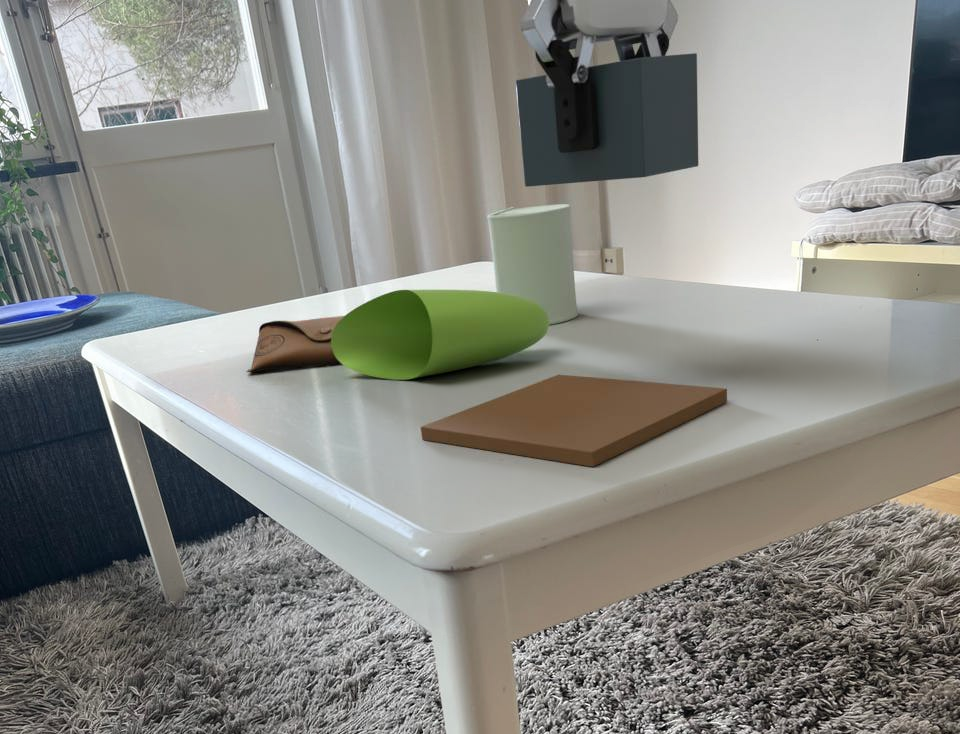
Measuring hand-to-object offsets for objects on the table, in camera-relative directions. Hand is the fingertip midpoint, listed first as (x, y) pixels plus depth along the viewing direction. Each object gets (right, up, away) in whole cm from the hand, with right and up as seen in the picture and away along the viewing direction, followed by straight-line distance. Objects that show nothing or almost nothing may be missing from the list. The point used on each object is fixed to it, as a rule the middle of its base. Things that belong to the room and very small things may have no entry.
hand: (610, 143), depth 70 cm
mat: (-2, -20, +2) cm, 20 cm away
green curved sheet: (-12, -10, +23) cm, 28 cm away
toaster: (0, -2, +2) cm, 2 cm away
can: (-3, +1, +41) cm, 41 cm away
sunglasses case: (-25, -6, +35) cm, 43 cm away
